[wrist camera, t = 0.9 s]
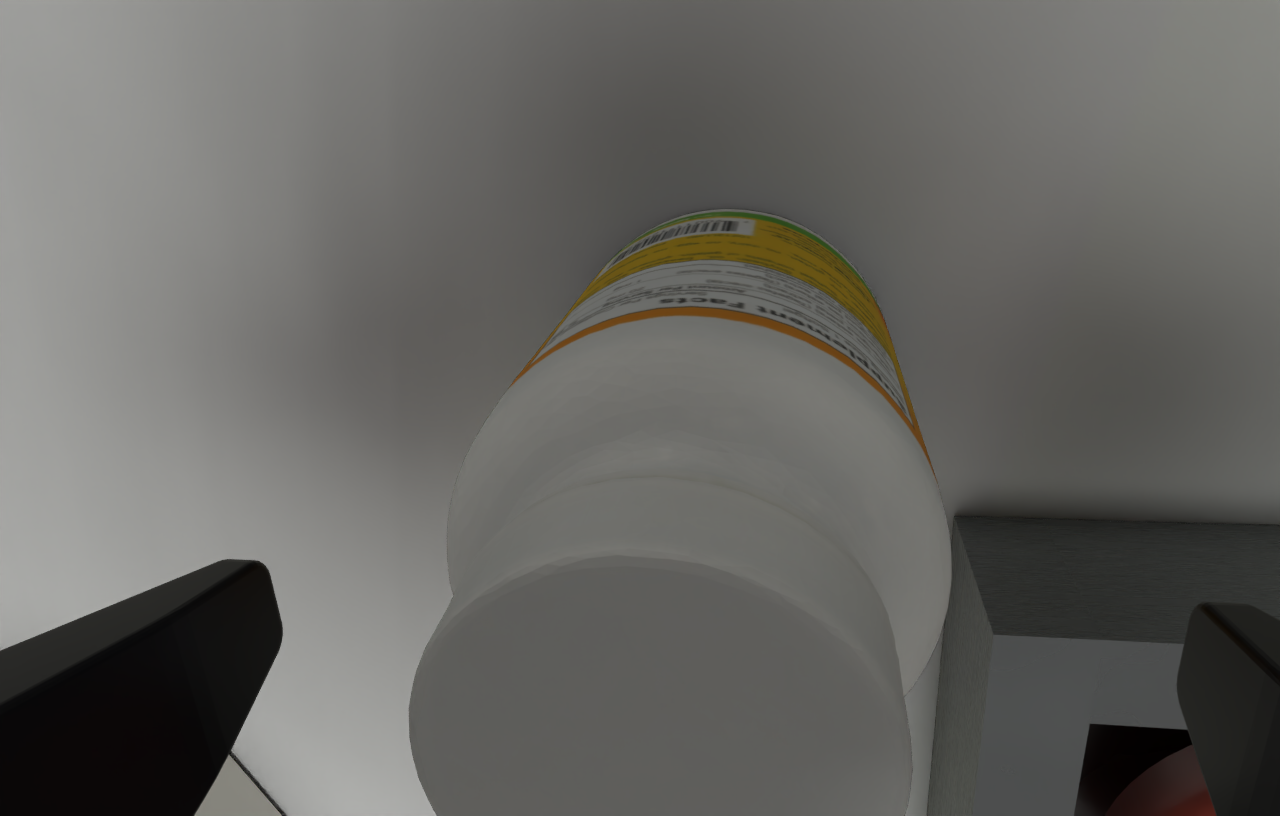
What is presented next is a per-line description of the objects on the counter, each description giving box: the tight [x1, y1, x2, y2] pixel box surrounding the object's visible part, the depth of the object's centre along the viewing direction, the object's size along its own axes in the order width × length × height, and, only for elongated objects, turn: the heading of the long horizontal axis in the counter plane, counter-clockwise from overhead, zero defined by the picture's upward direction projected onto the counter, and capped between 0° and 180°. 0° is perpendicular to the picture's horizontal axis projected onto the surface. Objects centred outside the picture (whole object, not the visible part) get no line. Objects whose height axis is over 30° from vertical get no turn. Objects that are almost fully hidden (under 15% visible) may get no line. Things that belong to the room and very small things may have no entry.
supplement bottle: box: [409, 209, 952, 816], centre depth 11 cm, size 5×5×10 cm
